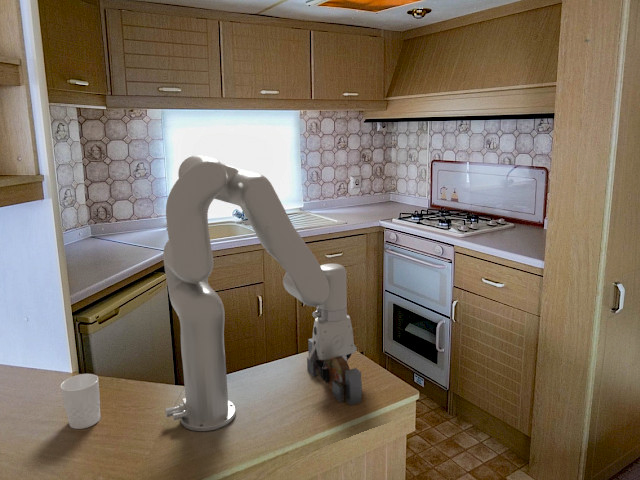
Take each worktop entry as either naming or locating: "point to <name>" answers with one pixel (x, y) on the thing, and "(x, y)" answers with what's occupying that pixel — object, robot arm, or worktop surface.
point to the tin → (336, 370)
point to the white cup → (81, 400)
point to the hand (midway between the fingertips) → (333, 378)
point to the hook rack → (351, 384)
